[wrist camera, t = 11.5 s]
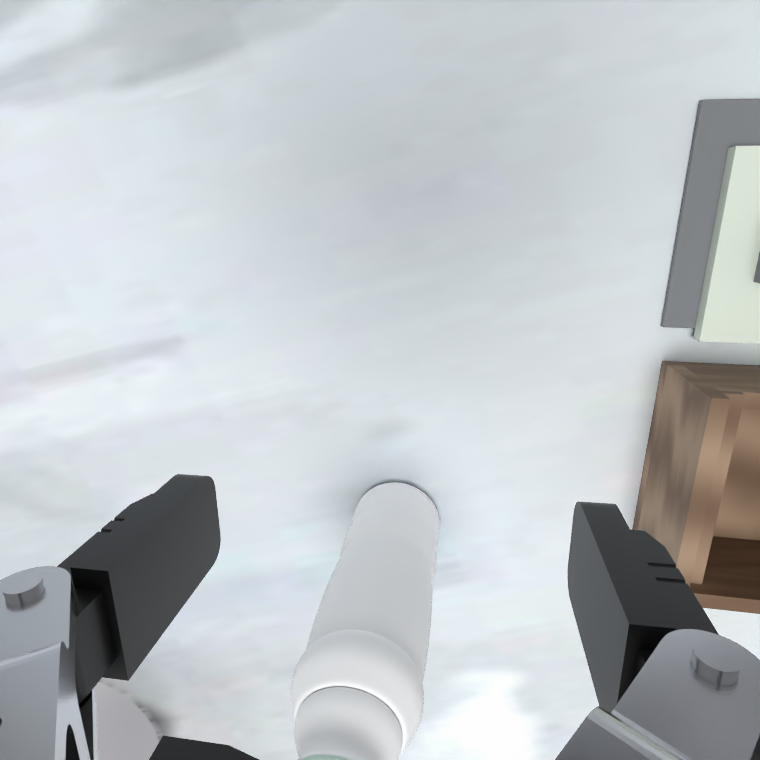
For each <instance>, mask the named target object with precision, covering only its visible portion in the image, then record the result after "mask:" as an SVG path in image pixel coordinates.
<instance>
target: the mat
mask: <svg viewBox="0 0 760 760" xmlns="http://www.w3.org/2000/svg"><path fill="white" fill-rule="evenodd" d="M734 146H760V99H725V100H701V101H699V106H698V112H697V118H696V123H695V129H694V135H693V141H692V147H691V153H690V158H689V164H688V170H687V176H686V182H685V188H684V193H683V199H682V205H681V211H680V217H679V223H678V228H677V234H676V240H675V246H674V252H673V257H672V263H671V269H670V275H669V281H668V287H667V292H666V298H665V304H664V310H663V316H662V322H661V326H662V327H674V328H695V327H696V321H697V316H698V310H699V305H700V300H701V294H702V289H703V283H704V278H705V272H706V267H707V262H708V256H709V251H710V245H711V240H712V234H713V229H714V224H715V218H716V213H717V207H718V202H719V196H720V191H721V186H722V180H723V175H724V169H725V164H726V159H727V153H728V148H730V147H734Z"/></svg>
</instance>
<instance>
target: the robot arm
mask: <svg viewBox="0 0 760 760" xmlns="http://www.w3.org/2000/svg"><path fill="white" fill-rule="evenodd" d="M219 548H220V528H219V519H218V509H217V500H216V491H215V485H214V481H213V479H212V478H211V477H209V476H198V475H183V474H177V475H175V476H174V477H173V478H171V479H170V480H169V481H168V482H167V483H166V484H165V485H163V486H162V487H161V488H160V489H159V490H158V491H157V492H155V493H154V494H151V495H149V496H147V497H145V498H143V499H141V500H139V501H137V502H135V503H133V504H131V505H129V506H128V507H127V508H126V509H125V510H123V511H122V512H121V513H120V514H119V515H117V516H116V517H115V519H114V521H110V522H109V523H108V524H107V525H106V526H104V527H103V528H102V530H101V532H97V533H96V534H95V535H94V536H93V537H91V538H90V539H89V540H88V541H87V542H86V543H84V544H83V545H82V546H81V547H80V548H78V549H77V550H76V551H75V552H74V553H73V554H71V555H70V556H69V557H68V558H67V559H65V560H64V561H63V562H62V563H61V564H60V565H58V566H57V567H55V566H43V567H36V568H31V569H27V570H24V571H20V572H18V573H15V574H12V575H10V576H8V577H6V578H4V579H2V580H0V760H98V735H97V705H96V704H97V703H96V696H95V691H94V687H95V685H96V684H97V683H98V682H99V680H100V679H101V678H102V677H105V678H113V679H120V680H129V679H130V678H131V676H132V675H133V674H134V672H135V671H136V669H137V668H138V667H139V665H140V664H141V663H142V661H143V660H144V659H145V657H146V656H147V654H148V653H149V652H150V650H151V649H152V648H153V646H154V645H155V644H156V642H157V641H158V639H159V638H160V637H161V635H162V634H163V633H164V631H165V630H166V629H167V627H168V626H169V625H170V623H171V622H172V620H173V619H174V618H175V616H176V615H177V614H178V612H179V611H180V610H181V608H182V607H183V605H184V604H185V603H186V601H187V600H188V599H189V597H190V596H191V595H192V593H193V592H194V590H195V589H196V588H197V586H198V585H199V584H200V582H201V581H202V580H203V578H204V577H205V575H206V574H207V573H208V571H209V570H210V569H211V567H212V566H213V564H214V563H215V561H216V559H217V556H218V553H219ZM568 589H569V596H570V600H571V604H572V608H573V611H574V615H575V619H576V622H577V626H578V629H579V633H580V637H581V640H582V644H583V648H584V651H585V655H586V659H587V662H588V666H589V669H590V673H591V677H592V680H593V684H594V688H595V691H596V695H597V699H598V702H599V707H596V708H595V709H593V710H592V711H591V712H590V713H589V715H588V716H587V717H586V719H585V720H584V721H583V723H582V724H581V725H580V727H579V728H578V729H577V731H576V732H575V733H574V735H573V736H572V738H571V739H570V740H569V742H568V743H567V744H566V746H565V747H564V748H563V750H562V751H561V752H560V754H559V755H558V757H557V758H556V759H555V760H760V660H759V659H758V658H757V657H756V656H755V655H753V654H752V653H751V652H749V651H748V650H747V649H745V648H744V647H742V646H741V645H739V644H737V643H735V642H733V641H731V640H730V639H727V638H725V637H723V636H720V635H719V634H718V633H717V631H716V629H715V628H714V626H713V625H712V623H711V621H710V620H709V618H708V616H707V615H706V613H705V611H704V610H703V608H702V606H701V605H700V603H699V602H698V600H697V598H696V597H695V595H694V593H693V592H692V590H691V588H690V587H689V585H688V584H686V583H685V579H684V577H683V575H682V574H681V572H680V570H679V569H678V568H676V564H675V562H674V561H673V559H672V557H671V556H670V554H669V552H668V551H667V549H666V547H665V546H663V545H662V544H661V543H660V542H658V541H657V540H656V539H655V538H653V537H652V536H651V535H649V534H648V533H647V532H646V531H642V530H630V529H629V527H628V525H627V523H626V522H625V520H624V518H623V516H622V514H621V512H620V510H619V508H618V507H617V505H616V504H606V503H591V502H577V503H576V505H575V509H574V516H573V525H572V534H571V544H570V553H569V562H568ZM149 760H259V759H257V758H254V757H252V756H250V755H248V754H246V753H244V752H242V751H239V750H237V749H235V748H233V747H231V746H229V745H223V744H216V743H209V742H202V741H196V740H189V739H182V738H175V737H168V736H163V737H162V739H161V740H160V742H159V744H158V745H157V747H156V749H155V751H154V752H153V754H152V756H151V757H150V759H149Z"/></svg>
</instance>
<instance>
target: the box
mask: <svg viewBox="0 0 760 760" xmlns="http://www.w3.org/2000/svg"><path fill="white" fill-rule="evenodd" d="M633 530H642V531H646V532H647V533H648V534H649V535H651V536H652V537H653V538H655V539H656V540H657V541H658V542H660V543H661V544H662V545H663V546H665V547H666V549H667V551H668V552H669V554H670V556H671V557H672V559H673V561H674V562H675V564H676V568H678V569H679V570H680V572H681V574H682V575H683V577H684V579H685V583H686V584H688V585H689V587H690V588H691V590H692V592H693V593H694V595H695V597H696V598H697V600H698V602H699V603H700V605H701V606H702V608H711V609H720V610H729V611H738V612H747V613H756V614H760V366H755V365H734V364H713V363H692V362H671V361H662V366H661V371H660V377H659V383H658V389H657V394H656V400H655V406H654V411H653V417H652V423H651V428H650V434H649V440H648V445H647V451H646V457H645V462H644V468H643V474H642V479H641V485H640V491H639V497H638V502H637V508H636V514H635V519H634V525H633Z"/></svg>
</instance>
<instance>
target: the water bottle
mask: <svg viewBox="0 0 760 760" xmlns="http://www.w3.org/2000/svg"><path fill="white" fill-rule="evenodd" d="M439 528H440V522H439V516H438V512H437V509H436V507H435V505H434V504H433V502H432V501H431V500H430V498H429V497H428V496H427V495H426V494H425V493H423V492H422V491H421V490H419V489H417V488H415V487H413V486H411V485H408V484H404V483H396V482H392V483H385V484H381V485H378V486H376V487H374V488H372V489H370V490H369V491H368V492H367V493H366V494H365V495H364V496H363V497H362V498H361V500H360V501H359V503H358V505H357V507H356V510H355V512H354V516H353V519H352V523H351V527H350V529H349V531H348V533H347V535H346V537H345V540H344V543H343V546H342V549H341V555H340V559H339V561H338V563H337V565H336V567H335V569H334V571H333V573H332V575H331V578H330V580H329V583H328V585H327V588H326V590H325V593H324V595H323V598H322V601H321V603H320V606H319V609H318V612H317V614H316V617H315V620H314V623H313V627H312V630H311V633H310V637H309V640H308V644H307V648H306V651H305V652H304V653H303V655H302V656H301V658H300V660H299V662H298V664H297V666H296V669H295V671H294V674H293V678H292V683H291V693H290V697H291V709H292V715H293V721H294V739H295V745H296V749H297V752H298V755H299V759H298V760H398V758H399V756H400V755H401V754H402V752H403V751H404V750H405V748H406V747H407V746H408V744H409V743H410V741H411V740H412V738H413V737H414V735H415V733H416V731H417V729H418V727H419V724H420V721H421V717H422V713H423V705H424V692H423V685H422V681H423V676H424V671H425V665H426V659H427V652H428V644H429V635H430V625H431V611H432V580H433V577H434V573H435V568H436V547H437V543H438V537H439Z"/></svg>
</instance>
